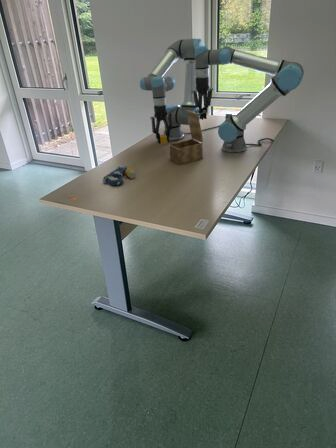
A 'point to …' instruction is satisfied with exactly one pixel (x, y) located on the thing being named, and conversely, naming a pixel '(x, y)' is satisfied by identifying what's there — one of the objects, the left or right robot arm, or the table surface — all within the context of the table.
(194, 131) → the lid
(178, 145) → the chest
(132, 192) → the table surface
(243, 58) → the right robot arm
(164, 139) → the block
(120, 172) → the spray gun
